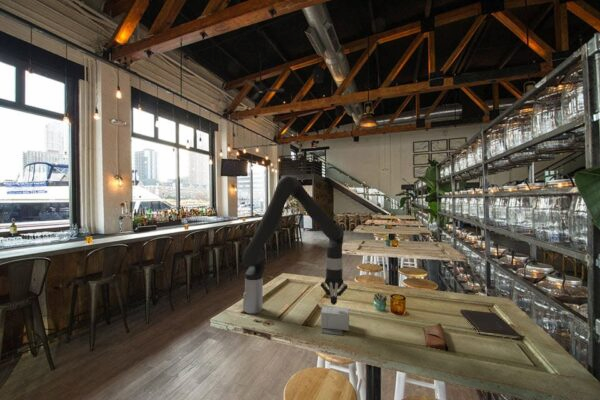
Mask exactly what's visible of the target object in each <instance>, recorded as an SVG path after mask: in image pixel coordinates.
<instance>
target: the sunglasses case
mask: <svg viewBox="0 0 600 400" xmlns="http://www.w3.org/2000/svg"><path fill="white" fill-rule="evenodd" d="M422 330H423V333H424V338H425V339H424V340H425V344H424V347H425V346H426V348H428V347H430V349H433V348H435V349H434V350H438V349H440V350H439V351H442V350H445V351H444V352H446V351H447V352H449V346H448V342H447V337H446V335H445V331H444V329H443V326H442V324H441V323H440V322H439V323H437V324H434V325H433V324H432V325H430V326H429V325H428V326H424V327H422Z"/></svg>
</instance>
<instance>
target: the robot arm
mask: <svg viewBox="0 0 600 400" xmlns="http://www.w3.org/2000/svg"><path fill="white" fill-rule="evenodd" d="M291 196H292V197H293V198H295V199H296V200H297V201H298V203H300V205H301V206H302V208H303V209H304V211H305V212H306V214H307V215H308V216H309V218H311V220H312V221H313V222H314V223H315V224H316V225H317V226H318V227H319V228H320V230H321V232H322V233H323V234H324V236H326V238H328V239H329V240H328V245H327V248H326V260H325V261H326V262H325V278H324V279H325V280H324V281H322V282H321V283H320V286H321V288H322V289H323V291H324V292H325V294H326V296H330V303H331V305H334V306H335V305H336V304H337V303H338V297H341V296H342V295H343V293H344V292H345V291H346V290H347V289H348V284H347V283H345V282H344V279H343V267H344V266H343V265H344V264H343V263H344V262H343V243H344V235H345V234H344V228H343V226H342V225H341V224H340V223H335V222H334V221H333V220H332V219H331V217H330V215H329V214H328V212H326V211H325V210H324V208H322V207H321V206H320V205H319V203H318V202H317V201H316V200H314V198H313V197H311V195H310V194H309V193H308V192H307V190H306V189H305V187H304V186H303V185H302V183H301V182H300V181H299V180H298V178H297V177H294V176H289V175H286V176H282V177H281V178H280V179H279V180H278V182H277V184H276V187H275V190H274V192H273V196H272V197H271V200H270V202H269V203H268V206H267V208H266V210H265V212H264V214H263V215H262V218H261V220H260V222H259V224H258V226H257V228H256V230H255V232H254V234H253V236H252V238H251V240H250V241H249V243H248V245H247V246H246V248H245V249H244V250H243V253H242V257H241V259H242V263H243V264H244V266H246V267H248V269H247V270H246V271H245V273H244V292H243V294H242V301H243V302H242V304H243V305H242V312H245V313H247V314H251V315H252V314H258V313H261V312H262V311H263V293H264V292H263V291H264V290H263V289H264V288H263V286H264V285H263V284H264V281H263V280H264V279H263V278H264V273H265V267H266V266H265V265H266V264H265V262H266V254H265V251H264V249H263V248H264V246H265V245H266V243H267V242H268V241H269V240H270V239H271V238H272V237H273V236H274V235H275V234H276V232H277V230H278V228H279V225H280V224H281V222H282V218H283V212H284V208H285V205H286V203H287V201H288V200H289V198H290V197H291ZM341 287H342V288H341ZM340 288H341V289H340ZM339 289H340V290H339ZM338 290H339V291H338Z"/></svg>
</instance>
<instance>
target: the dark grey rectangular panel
mask: <svg viewBox="0 0 600 400" xmlns="http://www.w3.org/2000/svg"><path fill="white" fill-rule="evenodd" d="M343 332H344V330H337V329H328V328H322V330H321V334H324V333H327V334H328V335H332V334H336V335H335V336H341V335H342V336H343V334H344V333H343ZM327 334H326V335H327Z"/></svg>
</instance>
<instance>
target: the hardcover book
mask: <svg viewBox="0 0 600 400" xmlns="http://www.w3.org/2000/svg"><path fill="white" fill-rule="evenodd" d="M459 312H460V314H461V315H462V316H463V317H464V318H466V319H467V320H468V321H469V322H470V323H471V324H472V325H473V326H474V327H475V328H476V329H477V330H478V332H484V333H493V334H499V335H504V336H508V337H519V338H521V334H519V332H517V331H516V330H515V329H513V328H512V327H511V326H510V324H508V323H507V322H506V321H505V320H503V319H502V317H500V316H499V315H498V314H497V313H496V312H488V311H481V310H480V311H479V310H472V309H471V310H470V309H460V311H459ZM466 319H465V320H466ZM467 320H466V321H467ZM468 321H467V322H468ZM469 322H468V323H469ZM470 323H469V324H470Z"/></svg>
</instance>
